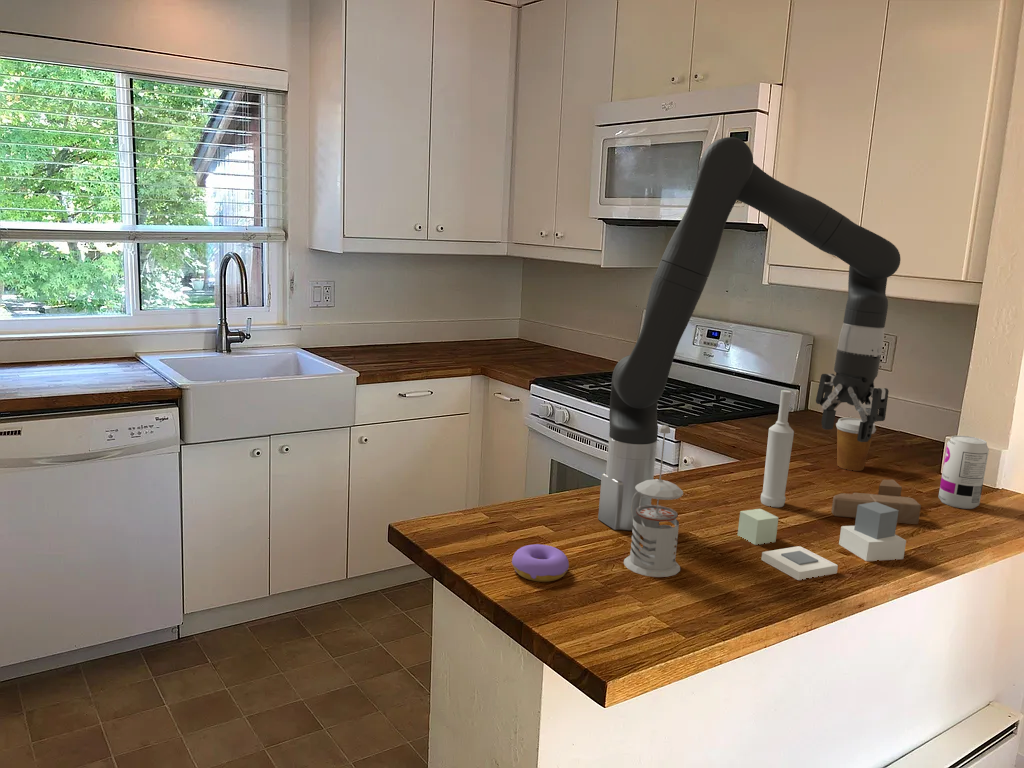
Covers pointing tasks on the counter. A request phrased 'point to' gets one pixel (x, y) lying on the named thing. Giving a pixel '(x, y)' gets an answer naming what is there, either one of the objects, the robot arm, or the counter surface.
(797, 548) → the plate
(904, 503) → the wooden block set
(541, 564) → the donut
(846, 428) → the disposable coffee cup
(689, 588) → the counter surface
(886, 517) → the slate cube
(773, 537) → the sage cube
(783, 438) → the bottle
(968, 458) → the supplement can
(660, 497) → the french press
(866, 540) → the base block
